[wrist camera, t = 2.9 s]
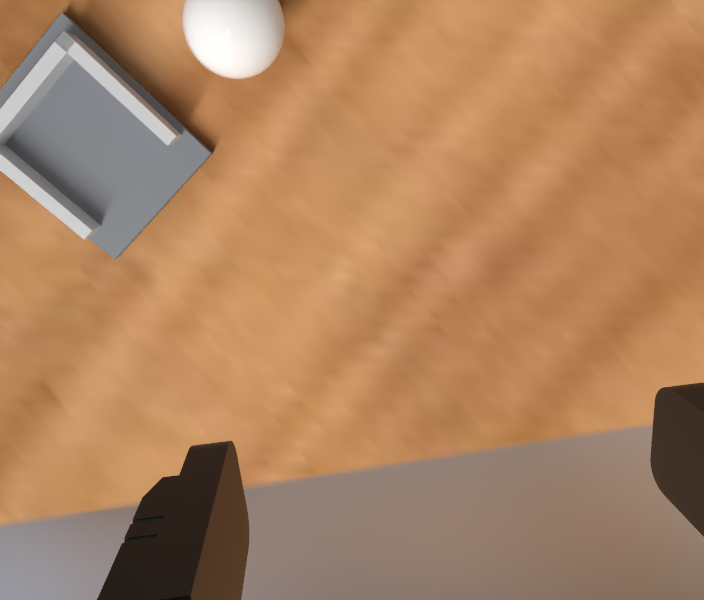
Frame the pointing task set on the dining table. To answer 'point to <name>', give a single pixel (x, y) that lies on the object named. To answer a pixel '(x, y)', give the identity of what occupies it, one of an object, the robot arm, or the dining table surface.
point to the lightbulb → (234, 34)
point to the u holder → (92, 139)
